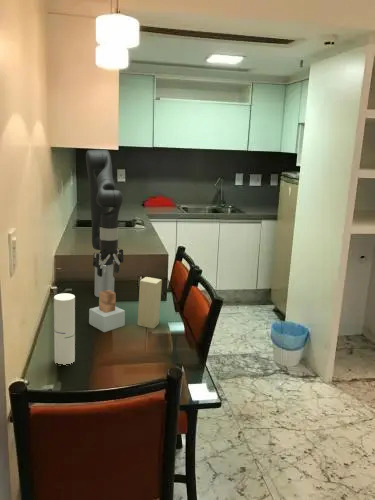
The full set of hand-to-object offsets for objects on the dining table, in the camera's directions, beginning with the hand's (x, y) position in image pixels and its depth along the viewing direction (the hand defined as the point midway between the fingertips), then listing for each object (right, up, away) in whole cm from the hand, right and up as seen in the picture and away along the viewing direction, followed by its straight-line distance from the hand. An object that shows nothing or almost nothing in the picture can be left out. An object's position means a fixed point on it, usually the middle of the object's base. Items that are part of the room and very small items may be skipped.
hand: (108, 274), depth 190 cm
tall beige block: (+17, -23, +9) cm, 30 cm away
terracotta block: (-1, -16, +4) cm, 16 cm away
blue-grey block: (-2, -22, +6) cm, 23 cm away
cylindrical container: (-11, -30, -27) cm, 42 cm away
